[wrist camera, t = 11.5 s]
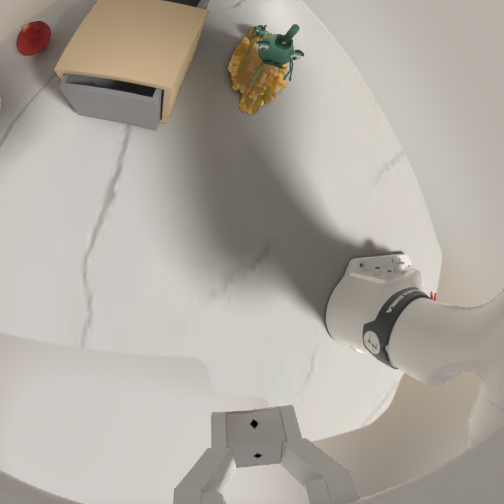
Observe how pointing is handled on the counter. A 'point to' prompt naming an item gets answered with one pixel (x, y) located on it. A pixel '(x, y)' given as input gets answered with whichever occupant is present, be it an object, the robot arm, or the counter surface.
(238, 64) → the frog figurine
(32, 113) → the counter surface
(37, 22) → the onion
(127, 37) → the sleeve
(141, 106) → the grey open box
